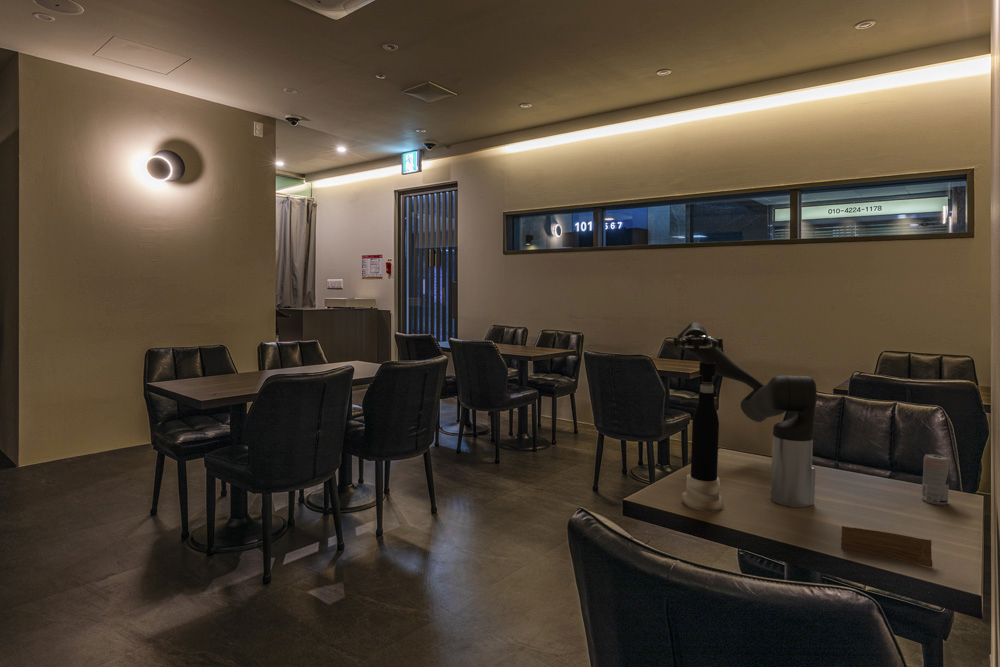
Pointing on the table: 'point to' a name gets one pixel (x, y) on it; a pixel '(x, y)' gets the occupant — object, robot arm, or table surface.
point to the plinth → (700, 506)
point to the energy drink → (935, 479)
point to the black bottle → (705, 429)
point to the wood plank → (888, 545)
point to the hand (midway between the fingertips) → (699, 343)
